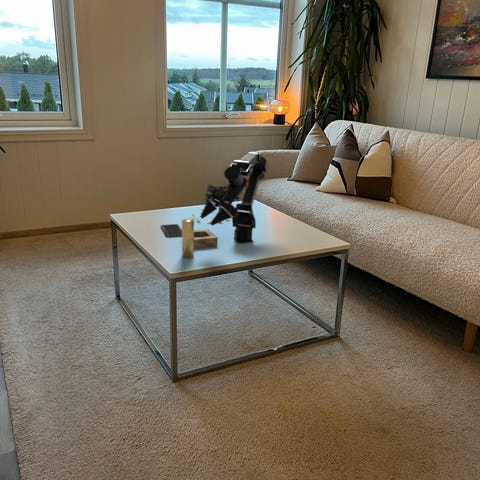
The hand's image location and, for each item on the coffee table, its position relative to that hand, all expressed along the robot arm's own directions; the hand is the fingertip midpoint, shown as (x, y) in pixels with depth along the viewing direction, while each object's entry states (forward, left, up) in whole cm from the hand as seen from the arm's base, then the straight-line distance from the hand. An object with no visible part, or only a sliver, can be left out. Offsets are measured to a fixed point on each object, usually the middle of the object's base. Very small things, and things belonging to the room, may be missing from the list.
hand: (206, 221), depth 176 cm
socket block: (-2, -13, -13) cm, 18 cm away
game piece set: (-18, -45, -14) cm, 50 cm away
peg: (+7, 0, -13) cm, 15 cm away
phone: (+5, -30, -14) cm, 33 cm away
